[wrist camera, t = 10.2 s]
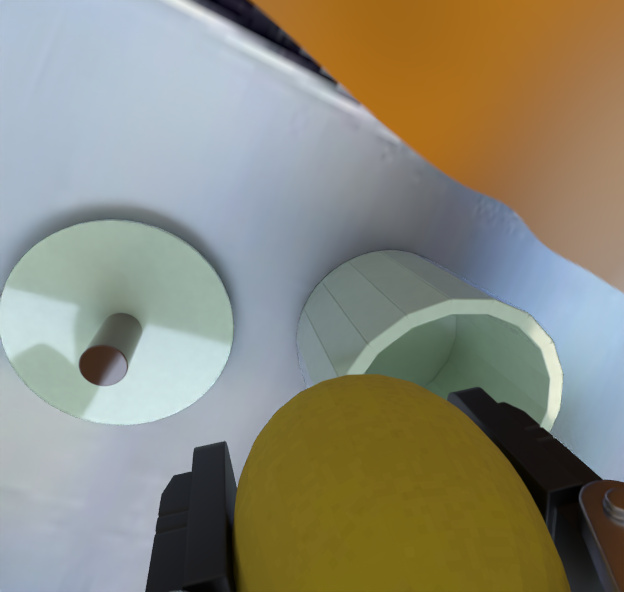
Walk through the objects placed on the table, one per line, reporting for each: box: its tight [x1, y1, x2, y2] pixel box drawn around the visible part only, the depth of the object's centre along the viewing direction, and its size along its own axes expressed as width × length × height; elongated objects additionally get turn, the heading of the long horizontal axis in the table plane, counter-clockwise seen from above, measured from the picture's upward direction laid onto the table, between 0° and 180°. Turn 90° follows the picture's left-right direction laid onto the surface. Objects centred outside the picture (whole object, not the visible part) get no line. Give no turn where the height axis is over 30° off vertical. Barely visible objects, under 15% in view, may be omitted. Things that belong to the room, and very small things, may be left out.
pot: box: [296, 250, 563, 433], centre depth 28 cm, size 13×13×10 cm
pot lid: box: [0, 219, 234, 425], centre depth 26 cm, size 14×14×6 cm
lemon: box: [232, 374, 571, 592], centre depth 9 cm, size 6×6×8 cm
